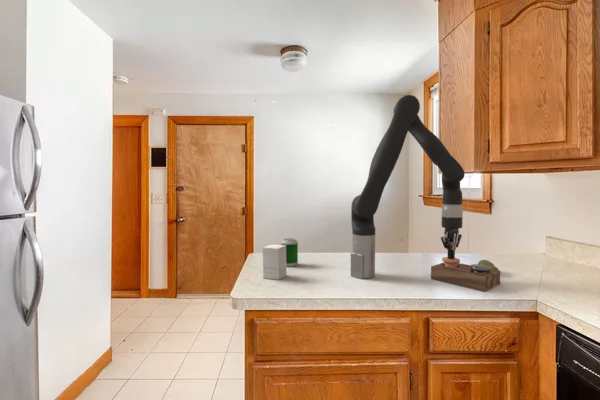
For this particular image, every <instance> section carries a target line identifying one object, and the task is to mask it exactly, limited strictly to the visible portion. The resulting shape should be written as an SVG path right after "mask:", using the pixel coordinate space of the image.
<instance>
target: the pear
mask: <svg viewBox="0 0 600 400" xmlns="http://www.w3.org/2000/svg"><path fill="white" fill-rule="evenodd" d="M477 264H479V265H486V266H489V267H490V269H493V270H499V268H498V267H497V266H495V264H494V262H491V261H490V260H487V259H480V260H479V261H478V263H477Z"/></svg>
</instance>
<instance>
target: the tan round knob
mask: <svg viewBox="0 0 600 400" xmlns="http://www.w3.org/2000/svg"><path fill="white" fill-rule="evenodd" d="M441 261H442V263H443V262H445V267H450V268H457V263H461V259H460V258H458V257H455V259H448V256H445V257H442V259H441Z"/></svg>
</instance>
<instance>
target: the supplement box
mask: <svg viewBox="0 0 600 400" xmlns="http://www.w3.org/2000/svg"><path fill="white" fill-rule="evenodd" d="M287 271H288V270H287V267H286V245H281V244H272V243H271V244H269V245H266V246H263V247H262V275H263V277H262V278H263V279H267V280H269V279H270V280H275V281H277V280H278V281H279V280H280V279H283V278H285V277H287V275H288V274H287V273H288V272H287Z"/></svg>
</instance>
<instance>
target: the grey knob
mask: <svg viewBox="0 0 600 400" xmlns="http://www.w3.org/2000/svg"><path fill="white" fill-rule="evenodd" d="M469 265H470V268H471V269H472V270H473V272H475V273H480V274H487V271H490V267H489V266H486V265H479V264H478V263H477V264H475V263H474V264H469Z"/></svg>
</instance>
